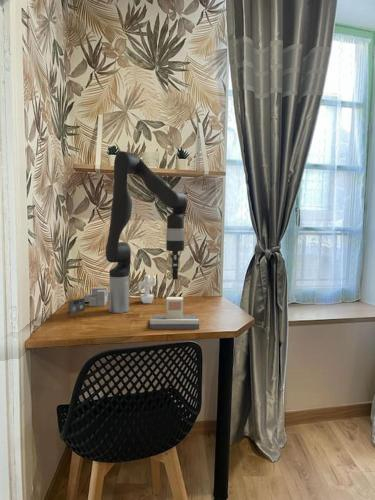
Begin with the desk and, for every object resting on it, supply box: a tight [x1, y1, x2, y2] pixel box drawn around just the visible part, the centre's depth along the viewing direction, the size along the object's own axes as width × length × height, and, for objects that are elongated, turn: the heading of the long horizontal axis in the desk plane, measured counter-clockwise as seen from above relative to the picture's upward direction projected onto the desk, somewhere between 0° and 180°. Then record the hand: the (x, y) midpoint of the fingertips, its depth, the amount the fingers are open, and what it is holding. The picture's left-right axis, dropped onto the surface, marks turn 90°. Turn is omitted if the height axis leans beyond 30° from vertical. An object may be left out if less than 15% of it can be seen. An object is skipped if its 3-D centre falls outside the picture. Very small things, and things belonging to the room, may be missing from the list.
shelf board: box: [149, 314, 200, 330], centre depth 132 cm, size 20×12×4 cm, turn 92°
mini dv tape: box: [68, 297, 86, 315], centre depth 149 cm, size 8×2×6 cm, turn 148°
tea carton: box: [165, 296, 184, 319], centre depth 132 cm, size 5×7×9 cm, turn 92°
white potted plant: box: [137, 274, 157, 304], centre depth 169 cm, size 7×9×15 cm
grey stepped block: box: [83, 286, 109, 307], centre depth 165 cm, size 12×12×8 cm
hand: (174, 277), depth 131 cm, fingers open, 8 cm apart
